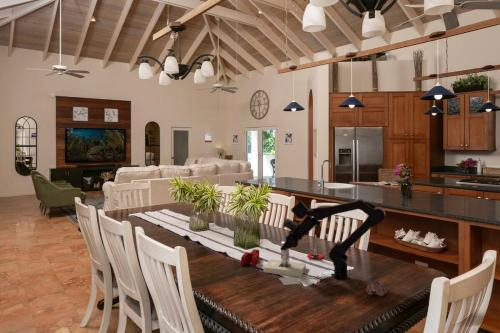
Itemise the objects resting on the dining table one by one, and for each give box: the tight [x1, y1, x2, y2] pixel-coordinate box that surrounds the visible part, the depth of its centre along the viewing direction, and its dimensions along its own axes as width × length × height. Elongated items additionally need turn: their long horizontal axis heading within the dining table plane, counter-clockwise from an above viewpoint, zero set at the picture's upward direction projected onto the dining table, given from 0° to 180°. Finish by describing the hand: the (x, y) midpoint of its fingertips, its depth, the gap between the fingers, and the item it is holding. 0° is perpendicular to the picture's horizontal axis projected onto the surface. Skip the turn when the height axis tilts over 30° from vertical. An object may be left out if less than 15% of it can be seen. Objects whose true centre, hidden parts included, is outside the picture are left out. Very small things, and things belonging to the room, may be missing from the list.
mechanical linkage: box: [240, 248, 260, 268], centre depth 182 cm, size 16×7×5 cm, turn 162°
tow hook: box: [306, 234, 324, 261], centre depth 189 cm, size 8×13×9 cm
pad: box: [278, 276, 302, 286], centre depth 157 cm, size 8×8×1 cm
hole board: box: [263, 258, 307, 278], centre depth 170 cm, size 18×12×3 cm, turn 71°
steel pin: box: [280, 240, 290, 268], centre depth 169 cm, size 4×4×14 cm
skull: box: [365, 280, 388, 297], centre depth 143 cm, size 12×8×6 cm, turn 135°
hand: (282, 247), depth 169 cm, fingers open, 6 cm apart
